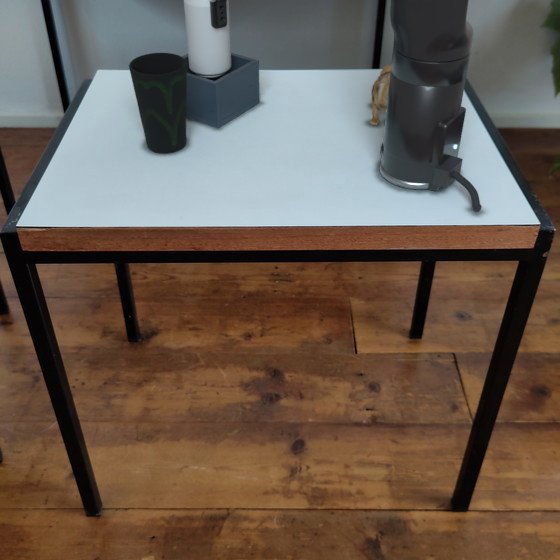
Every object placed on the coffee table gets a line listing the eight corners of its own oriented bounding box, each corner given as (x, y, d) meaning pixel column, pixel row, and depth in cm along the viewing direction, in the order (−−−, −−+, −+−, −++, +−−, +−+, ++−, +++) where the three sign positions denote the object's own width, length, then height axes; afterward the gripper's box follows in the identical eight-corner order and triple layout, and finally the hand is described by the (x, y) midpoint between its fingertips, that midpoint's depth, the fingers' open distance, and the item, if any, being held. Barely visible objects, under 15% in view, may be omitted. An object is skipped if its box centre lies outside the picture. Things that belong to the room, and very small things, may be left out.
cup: (129, 151, 102) (117, 70, 95) (155, 128, 108) (145, 49, 100) (178, 161, 100) (170, 78, 93) (202, 136, 106) (196, 57, 98)
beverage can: (234, 63, 112) (231, -18, 105) (228, 80, 107) (224, -3, 100) (193, 61, 113) (187, -19, 105) (185, 78, 108) (178, -5, 100)
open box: (259, 103, 115) (259, 60, 110) (217, 128, 108) (215, 84, 104) (207, 86, 119) (204, 45, 115) (164, 110, 113) (159, 67, 108)
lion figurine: (406, 137, 106) (413, 78, 100) (369, 136, 106) (374, 77, 101) (399, 94, 117) (406, 39, 112) (366, 93, 118) (371, 38, 112)
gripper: (253, -102, 91) (255, 30, 102) (200, -121, 101) (207, 1, 111) (200, -95, 88) (208, 40, 99) (150, -116, 98) (162, 10, 108)
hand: (207, 19), depth 105 cm, fingers closed on beverage can, 6 cm apart
